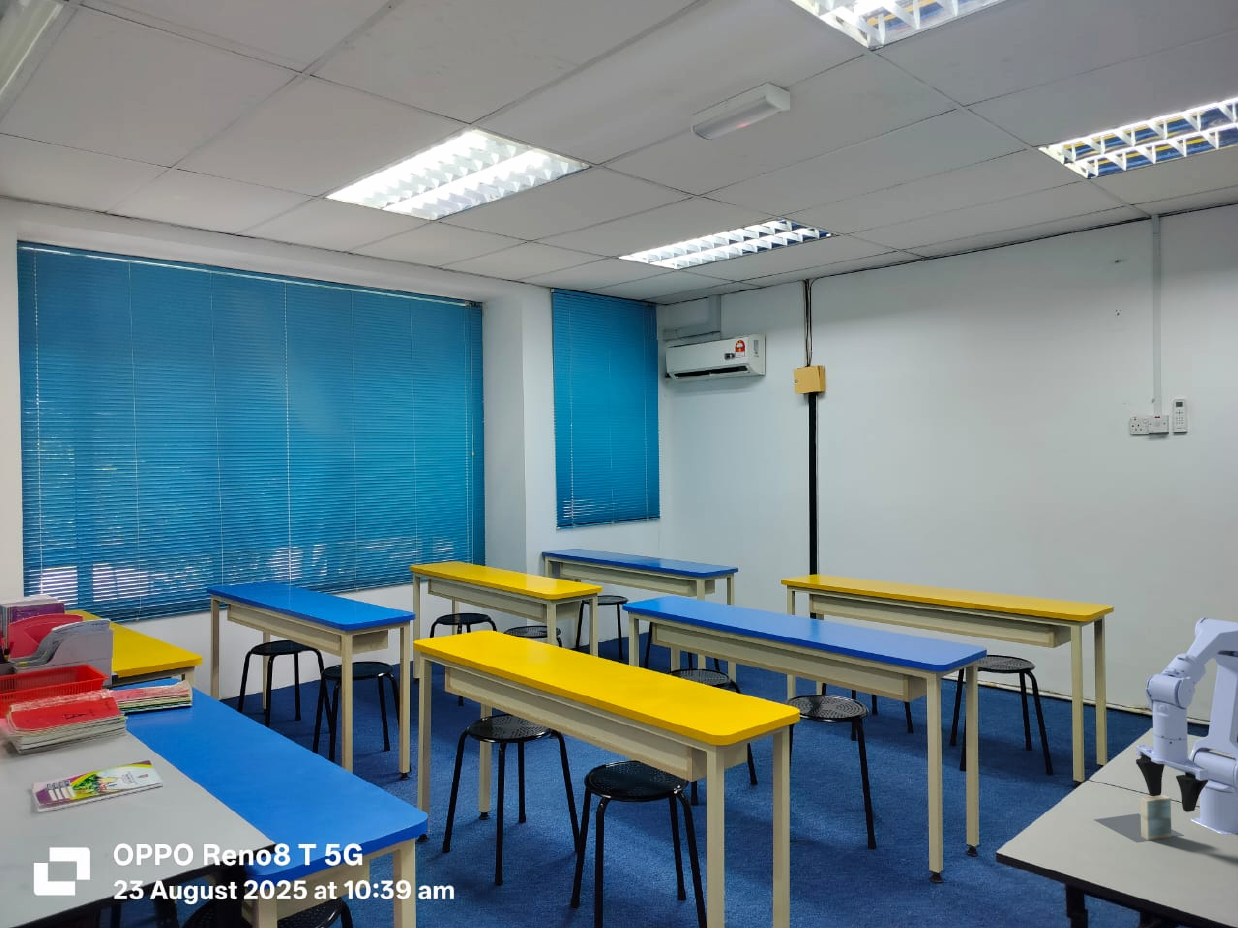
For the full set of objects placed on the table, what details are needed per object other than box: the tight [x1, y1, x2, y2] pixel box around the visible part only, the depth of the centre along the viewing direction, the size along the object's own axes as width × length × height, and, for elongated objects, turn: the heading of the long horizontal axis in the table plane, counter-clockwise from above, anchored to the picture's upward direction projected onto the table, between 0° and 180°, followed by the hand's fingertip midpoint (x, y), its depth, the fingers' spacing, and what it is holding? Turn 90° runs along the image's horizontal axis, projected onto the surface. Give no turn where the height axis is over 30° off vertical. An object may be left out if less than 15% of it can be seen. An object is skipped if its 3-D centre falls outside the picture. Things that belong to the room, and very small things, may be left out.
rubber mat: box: [1093, 813, 1185, 843], centre depth 170 cm, size 12×11×1 cm
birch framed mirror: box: [1139, 794, 1173, 841], centre depth 166 cm, size 6×2×8 cm, turn 103°
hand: (1171, 802), depth 161 cm, fingers open, 7 cm apart
